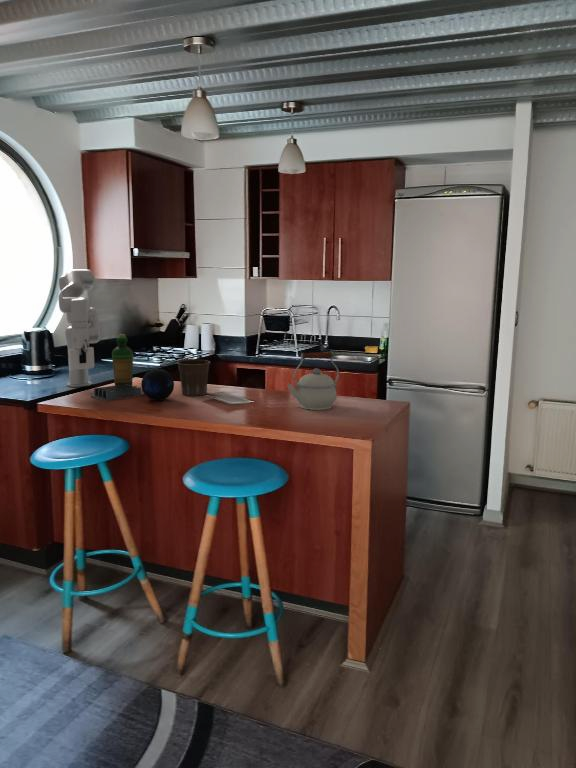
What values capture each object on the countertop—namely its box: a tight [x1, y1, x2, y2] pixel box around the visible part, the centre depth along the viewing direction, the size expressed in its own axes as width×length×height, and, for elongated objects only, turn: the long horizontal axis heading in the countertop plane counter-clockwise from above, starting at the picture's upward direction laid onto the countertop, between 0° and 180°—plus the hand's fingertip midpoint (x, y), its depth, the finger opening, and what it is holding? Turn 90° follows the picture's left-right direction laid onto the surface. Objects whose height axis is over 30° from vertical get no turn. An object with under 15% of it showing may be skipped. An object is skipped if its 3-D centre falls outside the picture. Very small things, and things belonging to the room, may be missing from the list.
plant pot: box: [176, 359, 211, 397], centre depth 310 cm, size 16×16×16 cm
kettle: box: [286, 351, 340, 411], centre depth 281 cm, size 25×18×25 cm
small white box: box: [67, 346, 95, 371], centre depth 303 cm, size 2×12×10 cm, turn 133°
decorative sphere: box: [140, 368, 175, 402], centre depth 294 cm, size 15×15×15 cm
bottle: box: [111, 333, 134, 386], centre depth 322 cm, size 11×11×28 cm
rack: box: [89, 384, 146, 402], centre depth 305 cm, size 14×22×4 cm, turn 133°
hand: (81, 362), depth 303 cm, fingers closed on small white box, 2 cm apart
